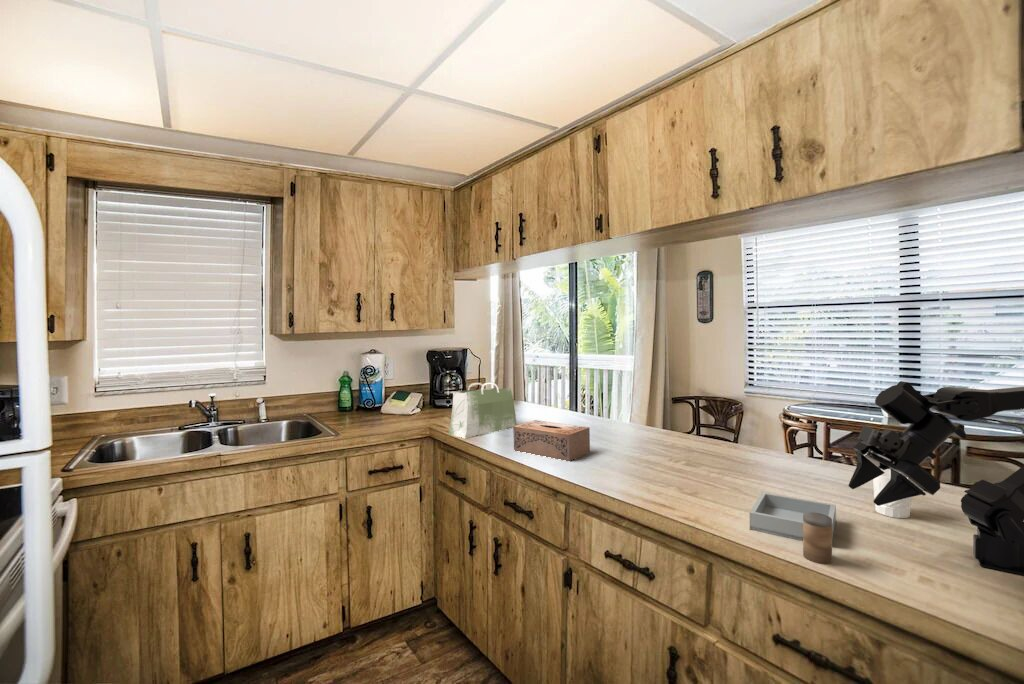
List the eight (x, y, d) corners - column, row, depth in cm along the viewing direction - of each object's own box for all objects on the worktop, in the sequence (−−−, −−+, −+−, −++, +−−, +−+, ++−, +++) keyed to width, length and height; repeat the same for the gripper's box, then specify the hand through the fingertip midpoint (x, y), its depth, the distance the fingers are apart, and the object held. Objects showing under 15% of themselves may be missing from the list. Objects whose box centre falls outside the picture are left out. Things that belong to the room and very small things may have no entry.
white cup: (894, 506, 123) (894, 468, 122) (921, 518, 115) (921, 478, 114) (864, 507, 122) (864, 469, 122) (890, 520, 114) (890, 479, 114)
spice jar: (832, 556, 98) (832, 515, 98) (831, 566, 94) (831, 524, 94) (804, 549, 101) (804, 510, 101) (801, 559, 97) (801, 518, 97)
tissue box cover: (590, 453, 181) (589, 427, 181) (569, 462, 170) (568, 434, 170) (536, 443, 198) (535, 420, 197) (513, 451, 187) (513, 426, 186)
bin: (835, 521, 115) (835, 504, 115) (831, 546, 102) (831, 528, 102) (762, 507, 124) (761, 492, 124) (749, 529, 112) (749, 512, 112)
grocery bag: (499, 423, 240) (497, 377, 239) (518, 427, 230) (516, 379, 229) (447, 434, 218) (445, 384, 217) (465, 439, 208) (464, 386, 207)
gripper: (860, 404, 104) (809, 456, 107) (917, 422, 86) (854, 483, 88) (903, 438, 103) (850, 489, 106) (970, 463, 85) (904, 525, 87)
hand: (862, 495), depth 97 cm, fingers open, 9 cm apart
